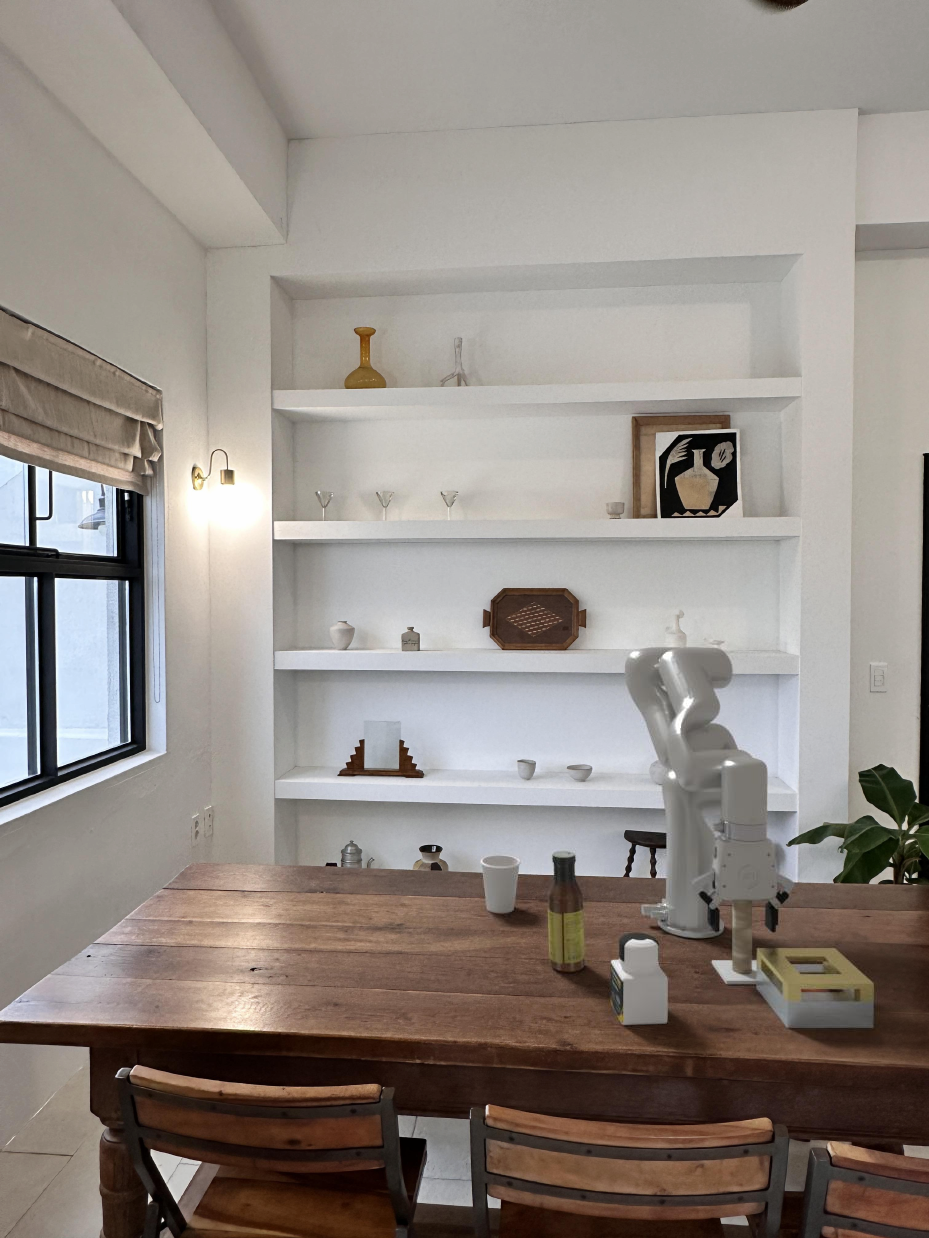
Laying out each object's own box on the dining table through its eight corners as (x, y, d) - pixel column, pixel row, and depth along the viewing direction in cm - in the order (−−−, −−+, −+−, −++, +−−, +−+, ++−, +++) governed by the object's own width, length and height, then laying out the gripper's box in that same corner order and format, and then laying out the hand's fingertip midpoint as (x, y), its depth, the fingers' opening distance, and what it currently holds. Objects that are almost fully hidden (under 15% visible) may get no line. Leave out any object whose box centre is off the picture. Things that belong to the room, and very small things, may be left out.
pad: (726, 984, 141) (726, 980, 141) (711, 963, 149) (711, 960, 149) (773, 983, 141) (773, 980, 141) (756, 963, 149) (756, 960, 149)
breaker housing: (787, 1027, 127) (787, 983, 127) (756, 988, 140) (756, 948, 140) (873, 1027, 127) (873, 983, 127) (834, 988, 140) (834, 948, 140)
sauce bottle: (587, 961, 150) (588, 850, 149) (580, 976, 144) (581, 860, 143) (551, 956, 152) (552, 846, 151) (543, 970, 146) (544, 856, 146)
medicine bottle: (609, 1003, 134) (610, 928, 134) (653, 1001, 135) (654, 927, 135) (621, 1026, 127) (622, 947, 127) (668, 1024, 128) (668, 945, 127)
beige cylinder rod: (735, 974, 144) (736, 886, 143) (729, 966, 147) (730, 880, 147) (754, 973, 144) (754, 886, 143) (748, 966, 147) (748, 880, 147)
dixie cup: (527, 906, 177) (527, 858, 177) (507, 918, 170) (508, 869, 170) (493, 898, 181) (493, 852, 181) (472, 910, 174) (472, 862, 174)
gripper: (699, 836, 141) (698, 937, 141) (802, 836, 141) (801, 937, 141) (687, 824, 148) (686, 920, 149) (785, 824, 149) (783, 921, 149)
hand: (742, 929), depth 145 cm, fingers open, 9 cm apart
